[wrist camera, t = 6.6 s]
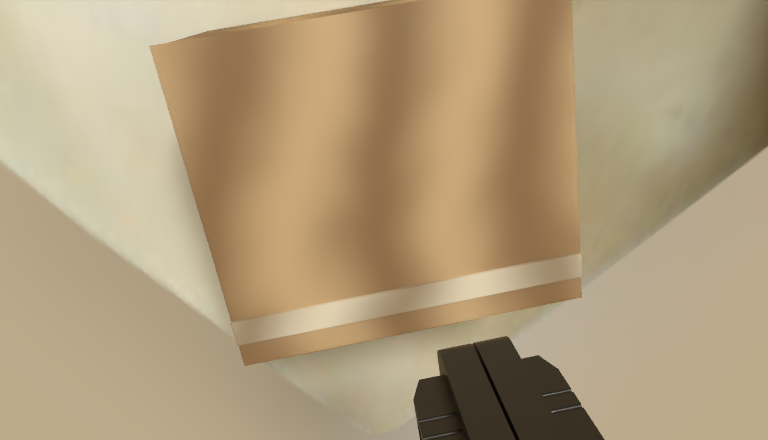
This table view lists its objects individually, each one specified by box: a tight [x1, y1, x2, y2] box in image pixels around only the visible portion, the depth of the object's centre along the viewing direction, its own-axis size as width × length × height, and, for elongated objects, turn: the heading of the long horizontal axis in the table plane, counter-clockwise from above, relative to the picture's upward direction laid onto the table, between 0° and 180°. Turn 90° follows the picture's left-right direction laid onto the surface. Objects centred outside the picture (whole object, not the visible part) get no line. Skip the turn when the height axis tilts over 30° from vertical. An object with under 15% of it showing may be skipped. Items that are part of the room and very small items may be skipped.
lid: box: [150, 0, 582, 365], centre depth 23 cm, size 16×14×1 cm
